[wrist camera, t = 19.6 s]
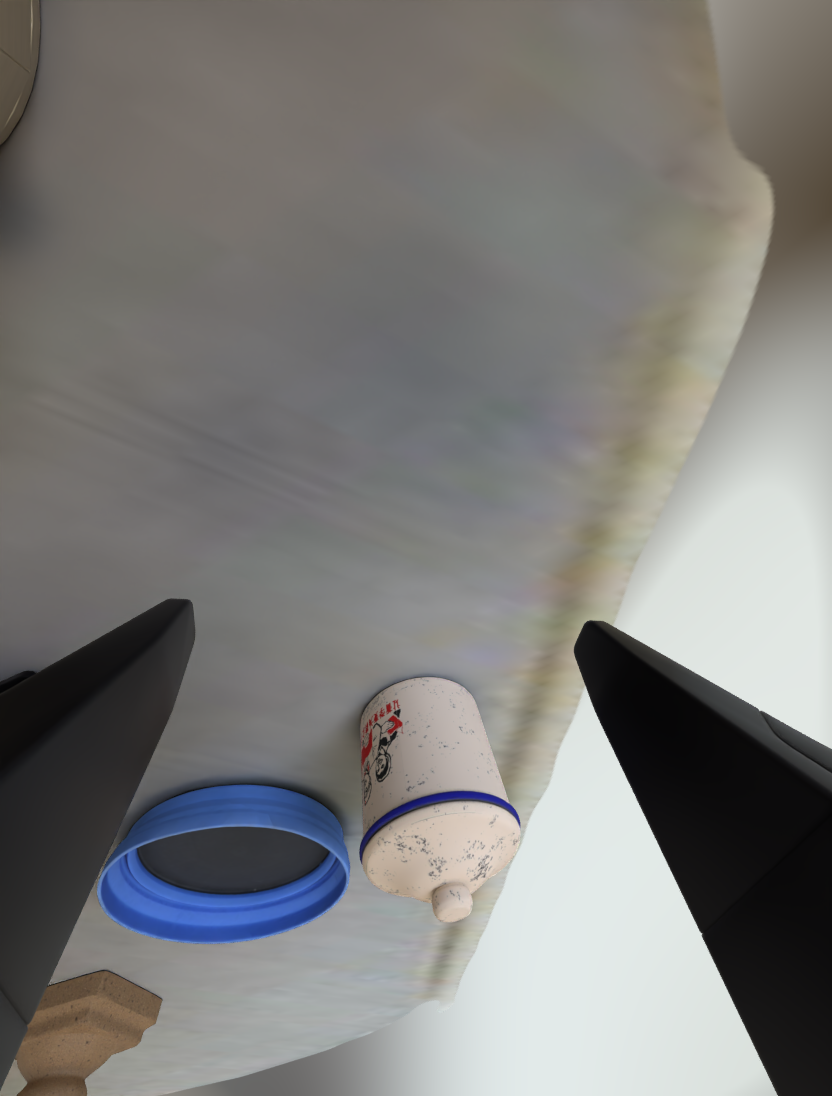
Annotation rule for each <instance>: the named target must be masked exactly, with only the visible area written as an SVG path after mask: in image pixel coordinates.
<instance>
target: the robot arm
mask: <svg viewBox="0 0 832 1096" xmlns="http://www.w3.org/2000/svg"><path fill="white" fill-rule="evenodd" d="M194 640H195V622H194V612H193V604H192V602H191V601H190V600H188V599H167V600H165V601H163V602H161V603H160V604H158V605H156V606H154V607H153V608H151V609H149V610H147V611H146V612H144V613H142V614H140V615H139V616H137V617H135V618H133V619H131V620H130V621H128V622H126V623H124V624H123V625H121V626H119V627H117V628H116V629H114V630H112V631H110V632H109V633H107V634H105V635H103V636H102V637H100V638H98V639H96V640H94V641H93V642H91V643H89V644H87V645H86V646H84V647H82V648H80V649H79V650H77V651H75V652H73V653H72V654H70V655H68V656H66V657H64V658H63V659H61V660H59V661H57V662H56V663H54V664H52V665H50V666H49V667H47V668H45V669H43V670H42V671H40V672H38V673H35V672H32V671H24V672H22V673H19V674H17V675H15V676H12V677H10V678H8V679H6V680H3V681H1V682H0V1090H1V1088H2V1085H3V1083H4V1081H5V1079H6V1077H7V1074H8V1072H9V1070H10V1068H11V1066H12V1063H13V1061H14V1059H15V1057H16V1055H17V1052H18V1050H19V1048H20V1046H21V1044H22V1041H23V1039H24V1037H25V1035H26V1033H27V1030H28V1026H27V1025H28V1024H30V1022H31V1021H32V1019H33V1016H34V1014H35V1012H36V1010H37V1008H38V1005H39V1003H40V1001H41V999H42V997H43V994H44V992H45V990H46V988H47V986H48V983H49V981H50V979H51V977H52V975H53V972H54V970H55V968H56V966H57V964H58V961H59V959H60V957H61V955H62V953H63V951H64V948H65V946H66V944H67V942H68V940H69V937H70V935H71V933H72V931H73V929H74V926H75V924H76V922H77V920H78V918H79V915H80V913H81V911H82V909H83V907H84V904H85V902H86V900H87V898H88V896H89V893H90V891H91V889H92V887H93V885H94V882H95V880H96V878H97V876H98V874H99V871H100V869H101V867H102V865H103V863H104V860H105V858H106V856H107V854H108V852H109V849H110V847H111V845H112V843H113V841H114V838H115V836H116V834H117V832H118V830H119V827H120V825H121V823H122V821H123V819H124V816H125V814H126V812H127V810H128V808H129V805H130V803H131V801H132V799H133V797H134V795H135V792H136V790H137V788H138V786H139V784H140V781H141V779H142V777H143V775H144V773H145V770H146V768H147V766H148V764H149V762H150V759H151V757H152V755H153V753H154V751H155V748H156V746H157V744H158V742H159V740H160V737H161V735H162V733H163V731H164V729H165V726H166V724H167V722H168V720H169V717H170V715H171V712H172V710H173V707H174V704H175V701H176V698H177V695H178V692H179V689H180V685H181V682H182V679H183V676H184V673H185V670H186V667H187V663H188V660H189V657H190V654H191V651H192V648H193V644H194ZM574 655H575V658H576V661H577V664H578V666H579V669H580V672H581V675H582V677H583V680H584V683H585V685H586V688H587V691H588V693H589V696H590V699H591V702H592V704H593V707H594V710H595V712H596V714H597V716H598V719H599V721H600V723H601V725H602V727H603V729H604V731H605V734H606V736H607V738H608V740H609V742H610V744H611V746H612V748H613V750H614V752H615V754H616V757H617V759H618V761H619V763H620V765H621V767H622V769H623V771H624V773H625V775H626V778H627V780H628V782H629V784H630V786H631V788H632V790H633V792H634V794H635V796H636V798H637V801H638V803H639V805H640V807H641V809H642V811H643V813H644V815H645V817H646V819H647V821H648V824H649V826H650V828H651V830H652V832H653V834H654V836H655V838H656V840H657V842H658V844H659V847H660V849H661V851H662V853H663V855H664V857H665V859H666V861H667V863H668V866H669V867H670V870H671V872H672V874H673V876H674V878H675V880H676V882H677V884H678V886H679V889H680V891H681V893H682V895H683V897H684V899H685V901H686V903H687V905H688V907H689V910H690V912H691V914H692V916H693V918H694V920H695V922H696V924H697V926H698V928H699V931H700V932H701V933H703V934H702V937H703V940H704V942H705V944H706V945H707V948H708V950H709V952H710V954H711V956H712V959H713V961H714V963H715V964H716V967H717V969H718V971H719V973H720V975H721V977H722V979H723V981H724V984H725V986H726V988H727V990H728V992H729V994H730V996H731V998H732V1001H733V1003H734V1005H735V1007H736V1009H737V1011H738V1013H739V1015H740V1017H741V1019H742V1022H743V1024H744V1025H745V1028H746V1030H747V1032H748V1034H749V1036H750V1038H751V1040H752V1043H753V1045H754V1047H755V1049H756V1051H757V1053H758V1055H759V1057H760V1059H761V1061H762V1063H763V1066H764V1068H765V1070H766V1072H767V1074H768V1076H769V1078H770V1080H771V1082H772V1084H773V1087H774V1088H775V1091H776V1093H777V1095H778V1096H832V749H830V748H828V747H826V746H824V745H823V744H821V743H819V742H817V741H815V740H813V739H811V738H810V737H808V736H806V735H804V734H802V733H801V732H799V731H797V730H795V729H793V728H791V727H790V726H788V725H786V724H784V723H783V722H780V721H779V720H777V719H775V718H774V717H772V716H770V715H768V714H767V713H765V712H763V711H759V710H758V709H757V708H756V707H754V706H752V705H751V704H749V703H747V702H745V701H744V700H742V699H740V698H738V697H737V696H735V695H733V694H731V693H729V692H728V691H726V690H724V689H722V688H721V687H719V686H717V685H715V684H713V683H712V682H710V681H708V680H707V679H705V678H703V677H701V676H700V675H698V674H696V673H694V672H692V671H691V670H689V669H687V668H685V667H684V666H682V665H680V664H678V663H676V662H675V661H673V660H671V659H670V658H668V657H666V656H664V655H662V654H661V653H659V652H657V651H655V650H653V649H652V648H650V647H648V646H647V645H645V644H643V643H641V642H640V641H638V640H636V639H634V638H632V637H631V636H629V635H627V634H626V633H624V632H622V631H620V630H618V629H617V628H615V627H613V626H611V625H610V624H608V623H606V622H604V621H591V620H590V621H587V622H586V623H585V624H584V626H583V628H582V630H581V632H580V634H579V637H578V639H577V641H576V643H575V646H574Z"/></svg>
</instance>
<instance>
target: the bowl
mask: <svg viewBox="0 0 832 1096" xmlns="http://www.w3.org/2000/svg"><path fill="white" fill-rule="evenodd" d="M349 873H350V862H349V858H348V852H347V848H346V846H345V844H344V838H343V831H342V828H341V825H340V823H339V822H338V820H337V819H336V817H335V816H334V815H333V814H332V812H330V811H329V810H328V809H327V808H326V807H324V806H323V805H322V804H320V803H319V802H317V801H315V800H314V799H311V798H309V797H307V796H305V795H302V794H300V793H297V792H293V791H290V790H286V789H281V788H276V787H270V786H262V785H226V786H216V787H210V788H204V789H199V790H195V791H192V792H188V793H185V794H182V795H179V796H176V797H174V798H171V799H169V800H167V801H165V802H163V803H161V804H159V805H157V806H156V807H154V808H153V809H151V810H150V811H148V812H147V813H146V814H144V815H143V816H142V817H141V818H140V819H139V820H138V821H137V822H136V823H135V824H134V825H133V827H132V828H131V830H130V832H129V833H128V835H127V837H126V838H125V839H124V840H123V841H122V842H121V843H120V844H119V846H118V847H117V848H116V849H115V851H114V853H113V854H112V855H111V856H110V858H109V859H108V861H107V862H106V864H105V867H104V869H103V871H102V874H101V877H100V879H99V881H98V887H97V895H98V899H99V903H100V905H101V907H102V909H103V910H104V912H105V913H106V914H107V915H108V916H109V917H110V918H111V919H112V920H113V921H115V922H116V923H118V924H119V925H121V926H123V927H125V928H127V929H129V930H132V931H134V932H137V933H139V934H142V935H146V936H149V937H153V938H157V939H162V940H167V941H173V942H181V943H193V944H220V943H234V942H242V941H249V940H255V939H260V938H265V937H269V936H273V935H276V934H280V933H283V932H286V931H289V930H292V929H295V928H297V927H300V926H302V925H304V924H307V923H309V922H311V921H313V920H315V919H316V918H318V917H320V916H321V915H323V914H324V913H326V912H327V911H329V910H330V909H331V908H332V907H333V906H334V905H335V904H337V903H338V901H339V900H340V899H341V898H342V896H343V895H344V893H345V891H346V890H347V887H348V884H349Z"/></svg>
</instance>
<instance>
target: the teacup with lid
mask: <svg viewBox="0 0 832 1096" xmlns="http://www.w3.org/2000/svg"><path fill="white" fill-rule="evenodd" d="M360 734H361V769H362V803H363V839H362V842H361V845H360V852H359V854H360V860H361V863H362V865H363V869H364V872H365V874H366V875H367V877H368V879H369V880H370V881H371V882H372V883H373V884H374V885H375V886H376V887H378V888H379V889H381V890H383V891H385V892H388V893H390V894H394V895H398V896H404V897H413V898H415V899H417V900H420V901H423V902H427V903H432V905H433V912H434V914H435V916H436V917H437V918H438V919H439V920H440V921H442V922H455V921H459V920H461V919H463V918H465V917H466V916H468V915H469V914H470V912H471V909H472V905H473V902H472V897H471V893H473V892H474V891H476V890H477V889H478V888H479V887H480V886H481V885H482V884H483V883H484V882H485V881H486V880H487V879H489V878H490V877H492V876H494V875H495V874H496V873H498V872H499V871H500V870H502V869H503V868H504V867H505V866H506V865H507V864H508V863H509V862H510V861H511V859H512V858H513V857H514V855H515V853H516V851H517V849H518V846H519V842H520V835H521V832H520V820H519V816H518V814H517V812H516V810H515V809H514V808H513V807H512V806H511V805H510V803H509V800H508V797H507V794H506V791H505V788H504V785H503V782H502V780H501V777H500V774H499V771H498V768H497V765H496V762H495V759H494V756H493V753H492V750H491V747H490V744H489V741H488V738H487V735H486V732H485V729H484V726H483V723H482V720H481V717H480V714H479V711H478V708H477V705H476V702H475V700H474V698H473V697H472V695H471V694H470V693H469V692H468V691H467V690H466V689H465V688H464V687H462V686H461V685H459V684H457V683H455V682H453V681H450V680H447V679H442V678H436V677H421V678H414V679H409V680H405V681H402V682H399V683H397V684H394V685H392V686H390V687H388V688H387V689H385V690H383V691H382V692H381V693H379V694H378V695H377V696H376V697H375V698H374V699H373V700H372V701H371V702H370V703H369V704H368V706H367V707H366V709H365V711H364V713H363V716H362V719H361V725H360Z"/></svg>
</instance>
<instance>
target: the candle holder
mask: <svg viewBox="0 0 832 1096" xmlns="http://www.w3.org/2000/svg"><path fill="white" fill-rule="evenodd" d="M161 1003H162V1000H161V999H160V998H158V997H157V996H155V995H153V994H151V993H150V992H148V991H146V990H144V989H142V988H140V987H138V986H136V985H134V984H132V983H130V982H128V981H127V980H125V979H123V978H121V977H119V976H117V975H115V974H112V973H110V972H107V971H100V972H96V973H93V974H89V975H85V976H82V977H78V978H75V979H72V980H68V981H65V982H62V983H58V984H55V985H52V986H48V987H47V988H46V990H45V992H44V994H43V997H42V999H41V1001H40V1003H39V1005H38V1008H37V1010H36V1012H35V1014H34V1016H33V1019H32V1021H31V1022H30V1024H28V1025H27V1026H28V1030H27V1033H26V1035H25V1037H24V1039H23V1041H22V1044H21V1046H20V1048H19V1050H18V1052H17V1055H16V1057H15V1059H16V1060H17V1064H18V1068H19V1070H20V1072H21V1074H22V1075H23V1077H24V1078H25V1079H26V1081H27V1085H26V1087H25V1088H24V1089H23V1090H22V1091H21V1092H19V1093H18V1094H17V1096H87V1088H86V1085H85V1079H86V1078H87V1077H88V1076H89V1075H90V1074H91V1073H93V1072H94V1071H95V1070H97V1069H98V1068H99V1067H100V1066H101V1065H103V1064H104V1063H105V1062H106V1061H107V1060H108V1058H109V1057H110V1056H111V1055H113V1054H116V1053H119V1052H122V1051H124V1050H127V1049H130V1048H132V1047H135V1046H137V1045H138V1043H139V1042H140V1041H141V1038H142V1035H143V1032H144V1031H145V1030H146V1029H147V1028H149V1027H150V1026H152V1025H154V1024H155V1023H156V1020H157V1017H158V1013H159V1010H160V1006H161Z"/></svg>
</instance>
